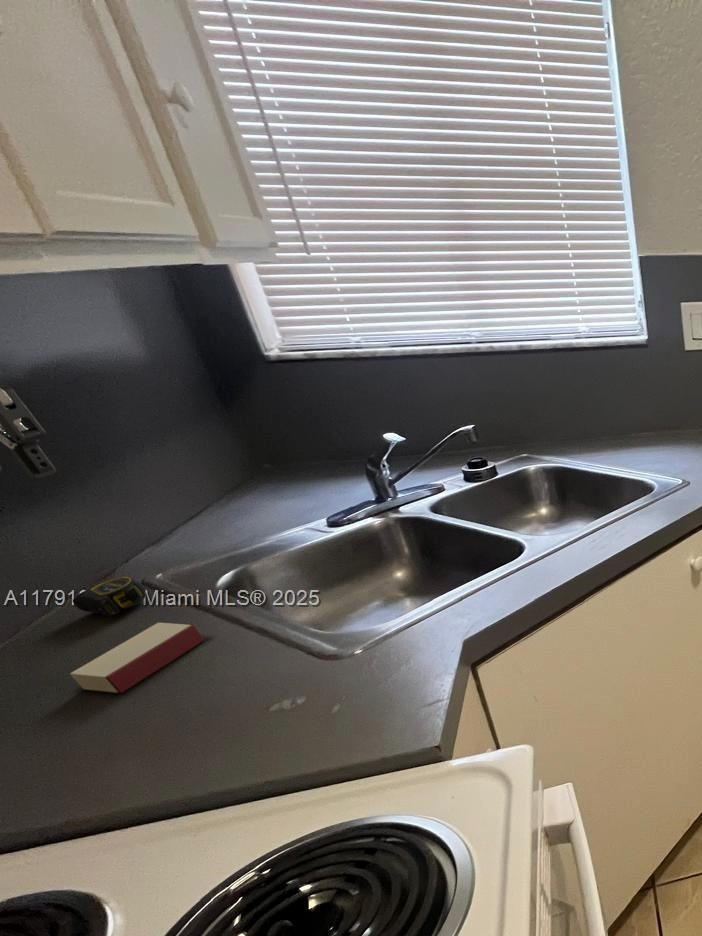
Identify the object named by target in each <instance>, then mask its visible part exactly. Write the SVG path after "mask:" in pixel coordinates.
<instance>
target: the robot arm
mask: <svg viewBox="0 0 702 936" xmlns="http://www.w3.org/2000/svg"><path fill="white" fill-rule="evenodd" d="M22 421H23V422H24V424H25V425H26V426H27V427H26V426H25V425H23V424H22V423H21V422H22ZM46 437H47V432H46V431H45V429H44V427H42V426H41V424H40V423H39V422H38V420H37V419H36V418H35V417H34V415H33V414H32V413H31V411H30V410H29V409H28V407H27V406H26V405H25V403H24V402H23V401H22V400H21V399H20V397H19V396H18V394H17V393H16V392H15V391H14V389H12V387H11V386H9V385H8V384H2V385H0V442H1V443H2V444H3V445H4V446H5V447H7V448H9V451H10V452H11V454H12V455H13V456H14V458H15V459H16V460H17V462H18V463H19V465H21V467H22V468H23V470H24V471H25V472H26V474H28V476H29V477H30V478H32V479H44V478H46V477H49V476H52V475H55V474H56V472H57V470H56V468H55V467H54V465H53V463H52V462H51V461H50V459H49V458H48V457H47V456H46V455H45V453H44V451H43V450H42V449H41V447H40V446H39V445H38V443H39V441H40V439H43V438H46ZM2 471H3V468H2V466H1V465H0V473H2Z"/></svg>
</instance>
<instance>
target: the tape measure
mask: <svg viewBox="0 0 702 936" xmlns="http://www.w3.org/2000/svg"><path fill="white" fill-rule="evenodd" d="M146 596H147V593H146V588H145V587H144V585H143V583H141V582H140V581H139V580H138V579H136V578H134V577H131V576H118V577H112V578H109V579H106V580H103V581H100V582H97V583H95V584H93V585H92V586H90V587H88V588H87V589H85V590H83V591H82V592H80V593H79V594H77V595H76V596H75V597H73V598H72V603H73V604H74V606H75V607H76V608H77V609H78V610H81V611H83V612H87V613H93V614H94V613H95V614H99V615H103V616H106V617H114V616H115V615H117V614H119V613H120V612H121V611H125V610H127V609H130V608H132V607H134V606H136V605H137V604H140V603H141V602H142V601H143V600H144V599H145V598H146Z"/></svg>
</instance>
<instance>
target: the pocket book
mask: <svg viewBox="0 0 702 936" xmlns="http://www.w3.org/2000/svg"><path fill="white" fill-rule="evenodd" d="M204 641H205V639H204V638H203V636H202V634H201V633H200V632H199V631H198V629H197V628H196V626H195V625H193V624H184V623H183V624H181V623H171V622H170V623H169V622H156V623H155V624H154V625H151V626H150V627H148V628H146V629H145V630H143V631H141V632H140V633H138V634H136V635H134V636H132V637H131V638H129V639H127V640H126V641H124V642H122V643H120V644H119V645H117V646H115V647H113V648H112V649H110V650H108V651H106V652H105V653H103V654H101V655H99V656H98V657H96V658H94V659H93V660H91V661H89V662H88V663H86V664H84V665H82V666H81V667H78V668H77V669H75V670H73V671H72V672H70V673H69V675H70V676H71V677H72V678H73V680H74V681H76V683H77V684H78V685H79V686H80V687H81V688H82V689H83V690H87V691H97V692H106V693H107V692H108V693H117V694H122V693H124V692H125V691H127V690H128V689H130V688H132V687H133V686H135V685H137V684H138V683H139V682H141V681H143V680H145V679H146V678H147V677H149V676H151V675H152V674H154V673H155V672H157V671H158V670H160V669H161V668H163V667H165V666H166V665H168V664H169V663H171V662H172V661H174V660H175V659H177V658H179V657H180V656H182V655H184V654H185V653H187V652H188V651H190V650H191V649H193V648H194V647H196V646H197V645H199V644H200V643H202V642H204Z"/></svg>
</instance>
